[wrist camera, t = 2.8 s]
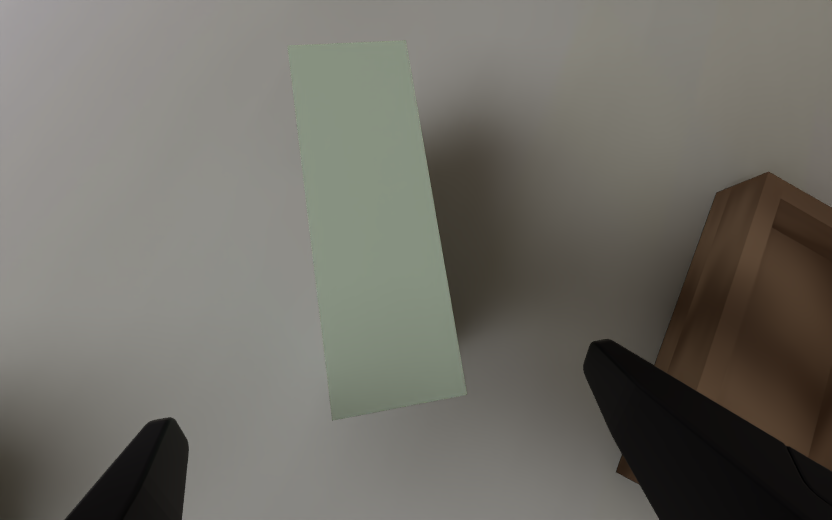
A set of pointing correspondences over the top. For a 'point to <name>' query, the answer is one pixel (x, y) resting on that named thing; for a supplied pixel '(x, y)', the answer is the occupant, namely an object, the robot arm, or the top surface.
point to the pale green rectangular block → (373, 230)
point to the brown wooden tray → (760, 314)
